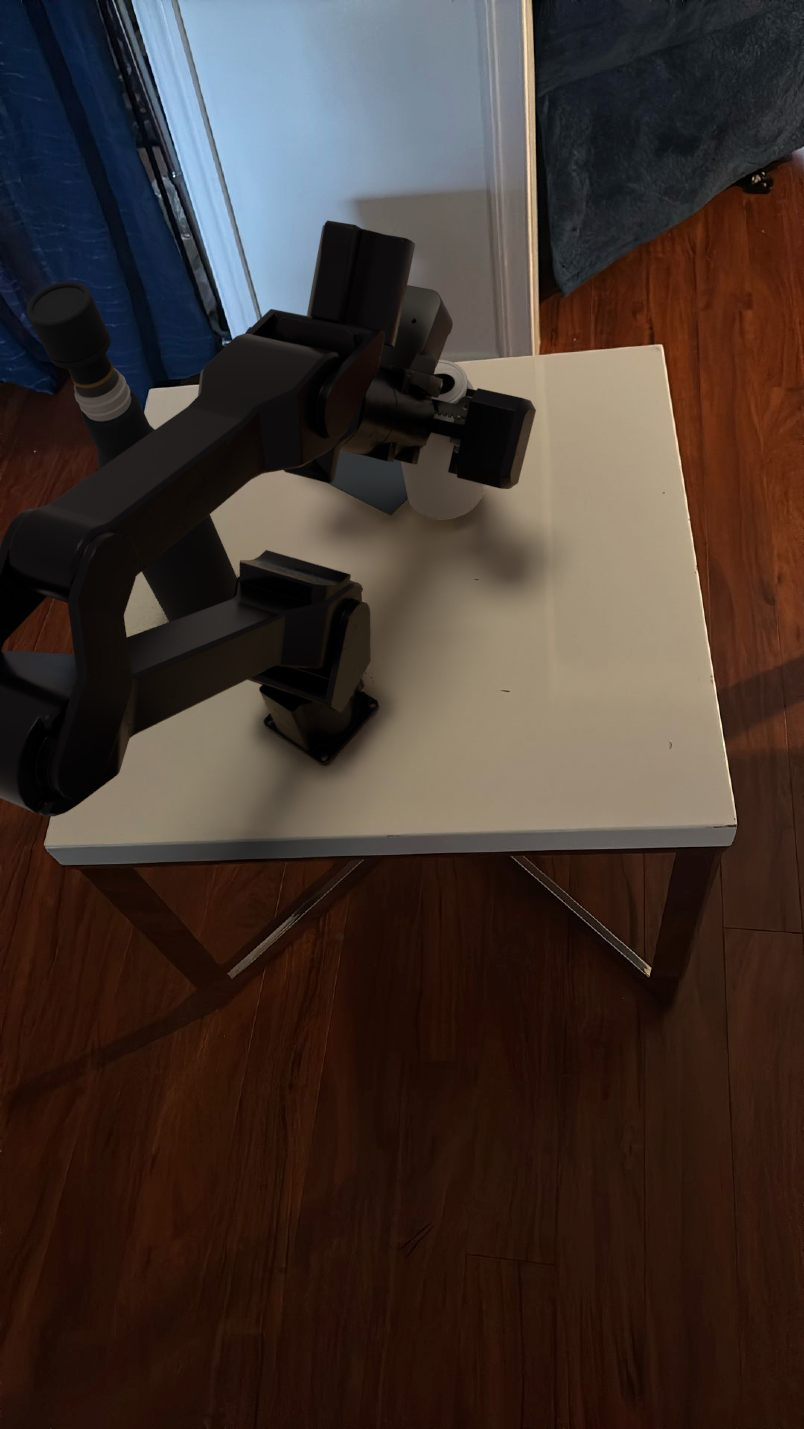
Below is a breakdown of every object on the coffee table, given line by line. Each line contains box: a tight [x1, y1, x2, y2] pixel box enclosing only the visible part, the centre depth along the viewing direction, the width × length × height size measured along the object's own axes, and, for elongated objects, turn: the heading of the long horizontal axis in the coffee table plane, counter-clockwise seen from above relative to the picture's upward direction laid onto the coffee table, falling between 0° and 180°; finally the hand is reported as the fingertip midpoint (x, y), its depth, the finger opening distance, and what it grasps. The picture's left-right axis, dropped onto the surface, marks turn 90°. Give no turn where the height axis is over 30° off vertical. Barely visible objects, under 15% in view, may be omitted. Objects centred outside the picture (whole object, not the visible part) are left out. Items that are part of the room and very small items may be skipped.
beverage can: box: [401, 358, 485, 521], centre depth 82 cm, size 6×6×12 cm
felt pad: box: [329, 452, 408, 516], centre depth 92 cm, size 9×9×1 cm
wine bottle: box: [26, 280, 238, 622], centre depth 72 cm, size 6×6×30 cm
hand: (445, 426), depth 82 cm, fingers closed on beverage can, 6 cm apart
